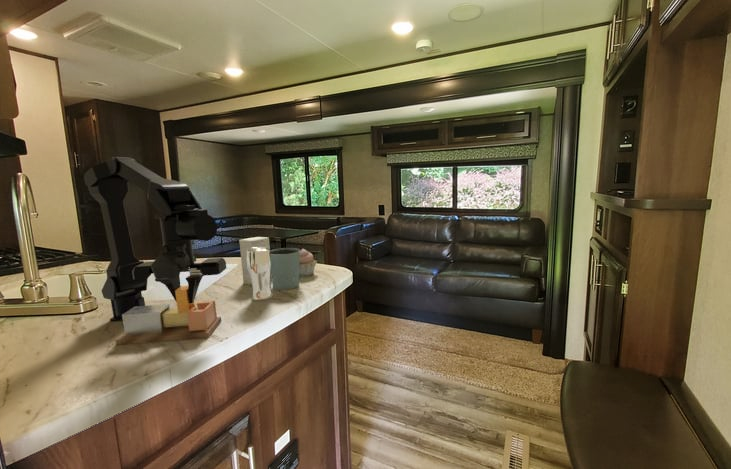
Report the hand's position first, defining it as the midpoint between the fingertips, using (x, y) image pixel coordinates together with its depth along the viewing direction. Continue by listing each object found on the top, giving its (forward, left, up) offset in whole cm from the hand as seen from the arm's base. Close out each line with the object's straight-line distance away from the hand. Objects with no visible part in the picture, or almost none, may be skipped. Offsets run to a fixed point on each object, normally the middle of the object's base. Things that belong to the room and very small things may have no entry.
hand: (185, 303), depth 79 cm
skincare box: (+8, +38, -7) cm, 39 cm away
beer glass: (+13, +21, -7) cm, 26 cm away
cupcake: (+24, +43, -7) cm, 50 cm away
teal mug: (+19, +31, -7) cm, 37 cm away
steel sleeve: (-9, 0, -6) cm, 11 cm away
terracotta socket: (+4, 0, -6) cm, 7 cm away
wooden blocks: (-5, 0, -5) cm, 7 cm away
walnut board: (-4, 0, -7) cm, 8 cm away
